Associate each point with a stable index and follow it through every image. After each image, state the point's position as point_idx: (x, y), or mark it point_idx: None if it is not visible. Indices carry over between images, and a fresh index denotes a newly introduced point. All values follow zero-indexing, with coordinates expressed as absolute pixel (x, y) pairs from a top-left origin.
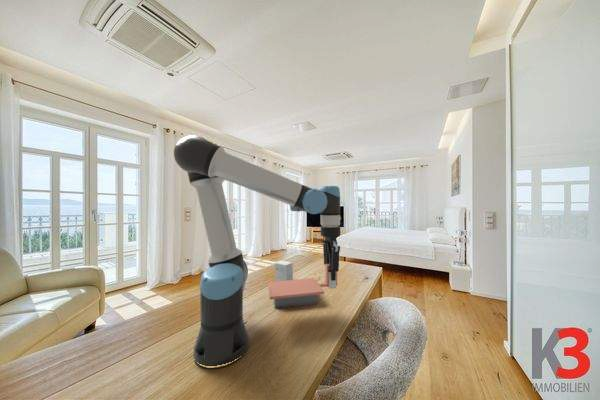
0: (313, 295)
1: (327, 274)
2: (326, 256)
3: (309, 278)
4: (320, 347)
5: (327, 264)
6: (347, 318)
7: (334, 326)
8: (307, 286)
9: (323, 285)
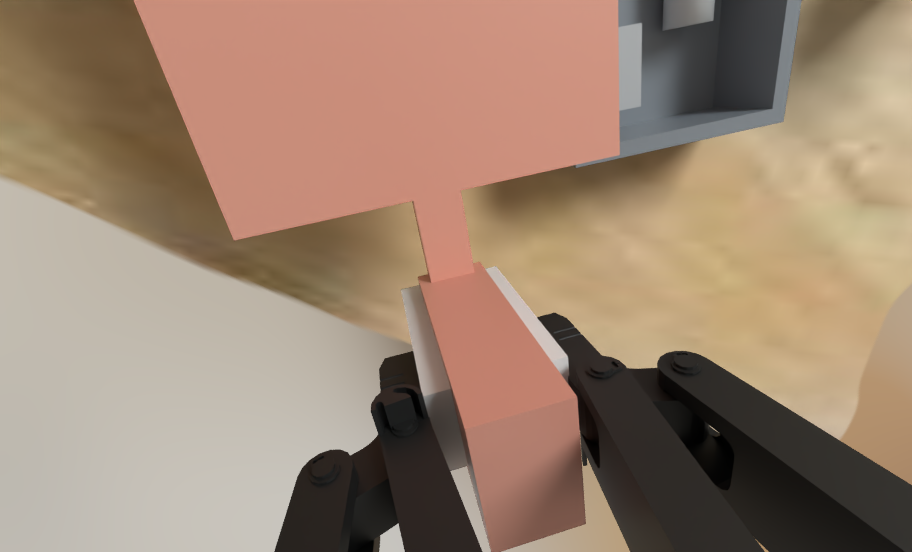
0: None
1: (439, 345)
2: (688, 538)
3: (616, 90)
4: (30, 126)
5: (536, 433)
6: (364, 314)
7: (274, 235)
8: (365, 37)
9: (422, 243)
